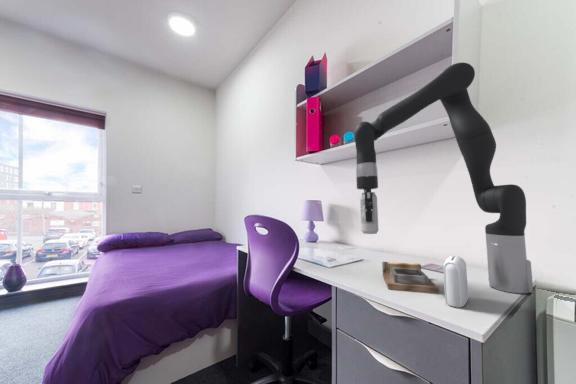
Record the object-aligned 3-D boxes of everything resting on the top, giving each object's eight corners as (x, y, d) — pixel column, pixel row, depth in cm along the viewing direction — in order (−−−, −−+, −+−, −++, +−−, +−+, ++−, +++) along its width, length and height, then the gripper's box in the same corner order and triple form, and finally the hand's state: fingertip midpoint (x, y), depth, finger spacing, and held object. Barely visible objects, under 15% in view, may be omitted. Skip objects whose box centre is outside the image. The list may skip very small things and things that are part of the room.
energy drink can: (381, 233, 83) (379, 192, 84) (373, 234, 79) (371, 191, 80) (366, 232, 88) (364, 193, 89) (358, 233, 84) (356, 192, 85)
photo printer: (451, 294, 68) (449, 252, 69) (470, 298, 65) (467, 254, 65) (443, 305, 60) (440, 258, 61) (463, 310, 57) (460, 260, 58)
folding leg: (383, 277, 84) (382, 262, 85) (382, 275, 86) (381, 261, 87) (421, 279, 82) (420, 264, 82) (419, 277, 84) (418, 263, 84)
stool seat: (425, 281, 80) (425, 268, 80) (438, 294, 68) (438, 279, 68) (383, 278, 84) (382, 265, 84) (388, 290, 72) (387, 275, 72)
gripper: (356, 179, 93) (357, 220, 92) (356, 174, 79) (358, 222, 78) (375, 178, 91) (377, 220, 89) (379, 172, 77) (381, 222, 76)
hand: (368, 220), depth 84 cm, fingers closed on energy drink can, 6 cm apart
